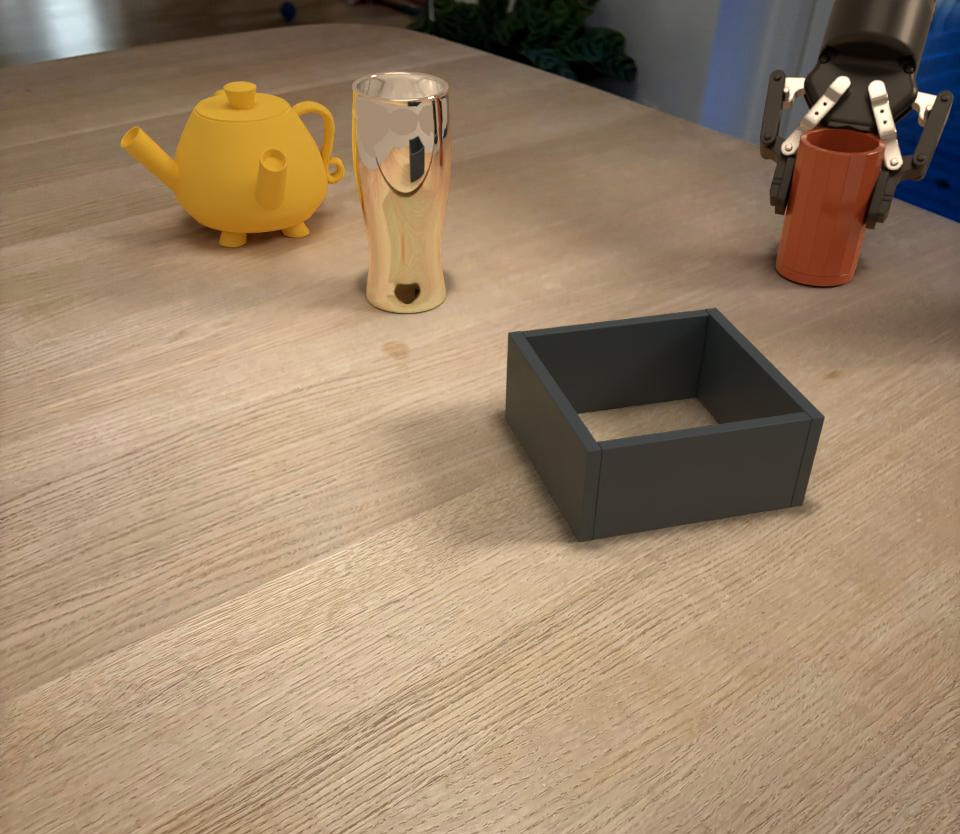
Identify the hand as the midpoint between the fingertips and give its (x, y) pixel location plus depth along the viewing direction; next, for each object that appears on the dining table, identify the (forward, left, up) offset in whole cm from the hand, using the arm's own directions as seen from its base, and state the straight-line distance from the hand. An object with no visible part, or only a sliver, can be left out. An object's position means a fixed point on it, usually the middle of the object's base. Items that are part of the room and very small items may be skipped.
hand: (824, 216), depth 86 cm
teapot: (+44, -14, -5) cm, 47 cm away
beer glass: (+32, 0, -5) cm, 33 cm away
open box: (+20, +26, -5) cm, 33 cm away
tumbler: (-1, -1, -5) cm, 5 cm away
